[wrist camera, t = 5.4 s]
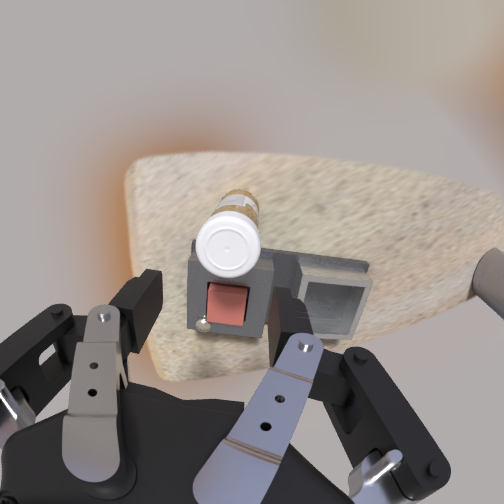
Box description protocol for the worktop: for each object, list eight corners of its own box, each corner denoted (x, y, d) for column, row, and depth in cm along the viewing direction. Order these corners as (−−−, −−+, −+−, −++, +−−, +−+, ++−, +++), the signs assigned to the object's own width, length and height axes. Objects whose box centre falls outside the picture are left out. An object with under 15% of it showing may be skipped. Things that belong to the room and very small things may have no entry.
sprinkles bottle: (260, 225, 32) (262, 278, 19) (221, 228, 32) (198, 281, 19) (257, 186, 30) (259, 215, 17) (217, 189, 30) (189, 219, 18)
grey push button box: (366, 261, 33) (383, 281, 28) (346, 324, 37) (356, 349, 32) (193, 239, 32) (182, 257, 27) (191, 308, 36) (181, 333, 31)
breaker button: (248, 273, 32) (246, 295, 28) (244, 302, 34) (242, 325, 29) (214, 269, 32) (208, 290, 28) (212, 298, 34) (206, 321, 29)
